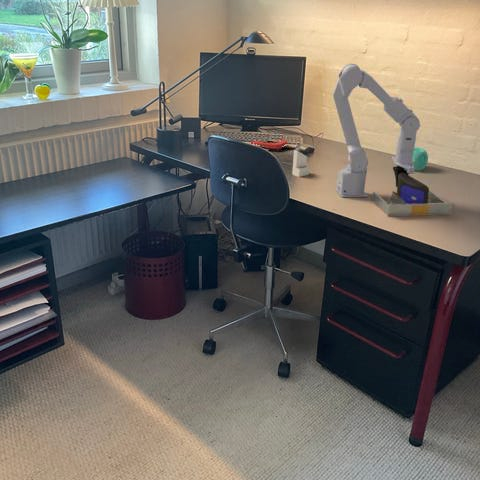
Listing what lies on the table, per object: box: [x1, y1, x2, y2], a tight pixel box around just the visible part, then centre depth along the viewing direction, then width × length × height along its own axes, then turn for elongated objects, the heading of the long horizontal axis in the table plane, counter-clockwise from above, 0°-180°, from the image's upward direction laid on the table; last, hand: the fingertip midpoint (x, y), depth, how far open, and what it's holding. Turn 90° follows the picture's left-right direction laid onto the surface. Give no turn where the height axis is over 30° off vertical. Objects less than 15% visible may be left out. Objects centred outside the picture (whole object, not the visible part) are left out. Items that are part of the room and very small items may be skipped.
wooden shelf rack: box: [371, 190, 453, 217], centre depth 178 cm, size 21×15×4 cm
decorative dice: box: [412, 146, 429, 172], centre depth 220 cm, size 8×8×8 cm
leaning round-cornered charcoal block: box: [396, 173, 430, 203], centre depth 178 cm, size 16×5×9 cm, turn 16°
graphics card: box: [251, 139, 288, 152], centre depth 245 cm, size 20×32×4 cm, turn 67°
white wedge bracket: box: [291, 149, 311, 178], centre depth 207 cm, size 4×10×9 cm, turn 129°
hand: (399, 187), depth 187 cm, fingers closed
